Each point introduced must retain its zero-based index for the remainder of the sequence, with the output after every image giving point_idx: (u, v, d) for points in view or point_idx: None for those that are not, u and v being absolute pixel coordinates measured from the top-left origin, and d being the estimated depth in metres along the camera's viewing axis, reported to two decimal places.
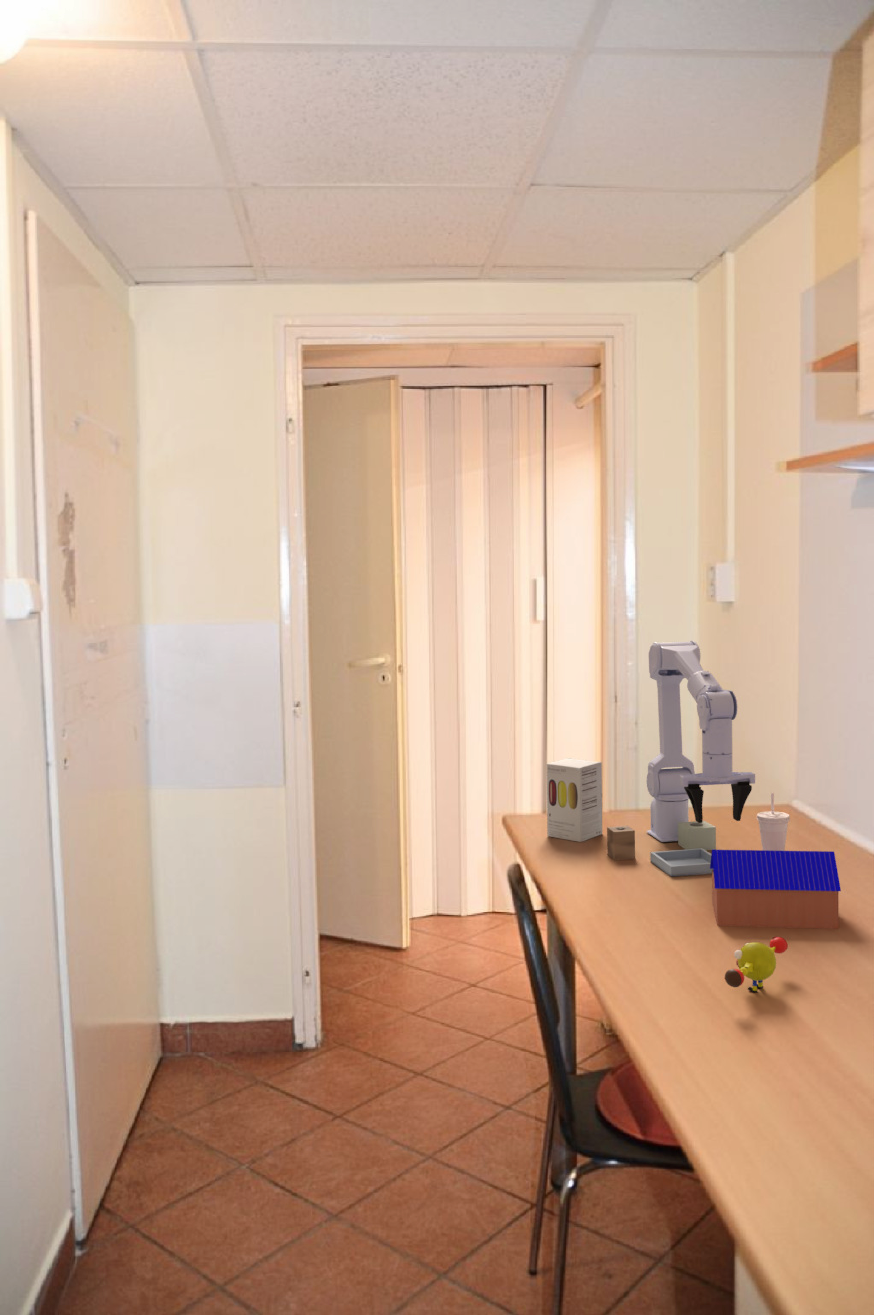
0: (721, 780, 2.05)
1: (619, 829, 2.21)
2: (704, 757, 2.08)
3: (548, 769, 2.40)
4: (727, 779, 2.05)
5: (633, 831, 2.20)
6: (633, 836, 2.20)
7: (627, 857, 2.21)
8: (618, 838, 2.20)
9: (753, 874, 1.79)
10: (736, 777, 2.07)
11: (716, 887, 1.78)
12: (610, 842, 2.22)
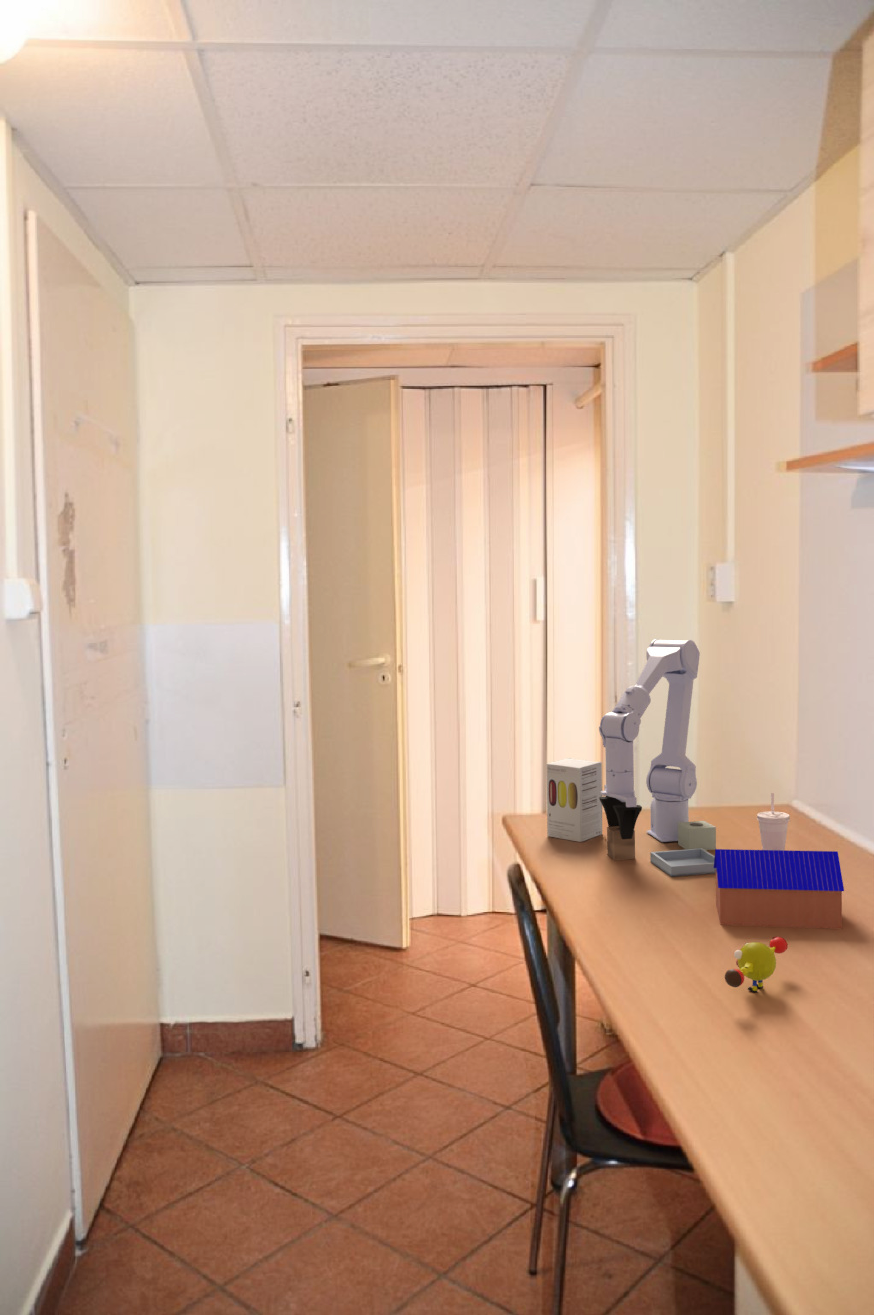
0: None
1: (619, 829, 2.21)
2: None
3: (548, 769, 2.40)
4: (602, 793, 2.20)
5: None
6: (633, 836, 2.20)
7: (627, 857, 2.21)
8: (618, 838, 2.20)
9: (756, 874, 1.79)
10: (614, 795, 2.18)
11: (719, 886, 1.78)
12: (610, 842, 2.22)
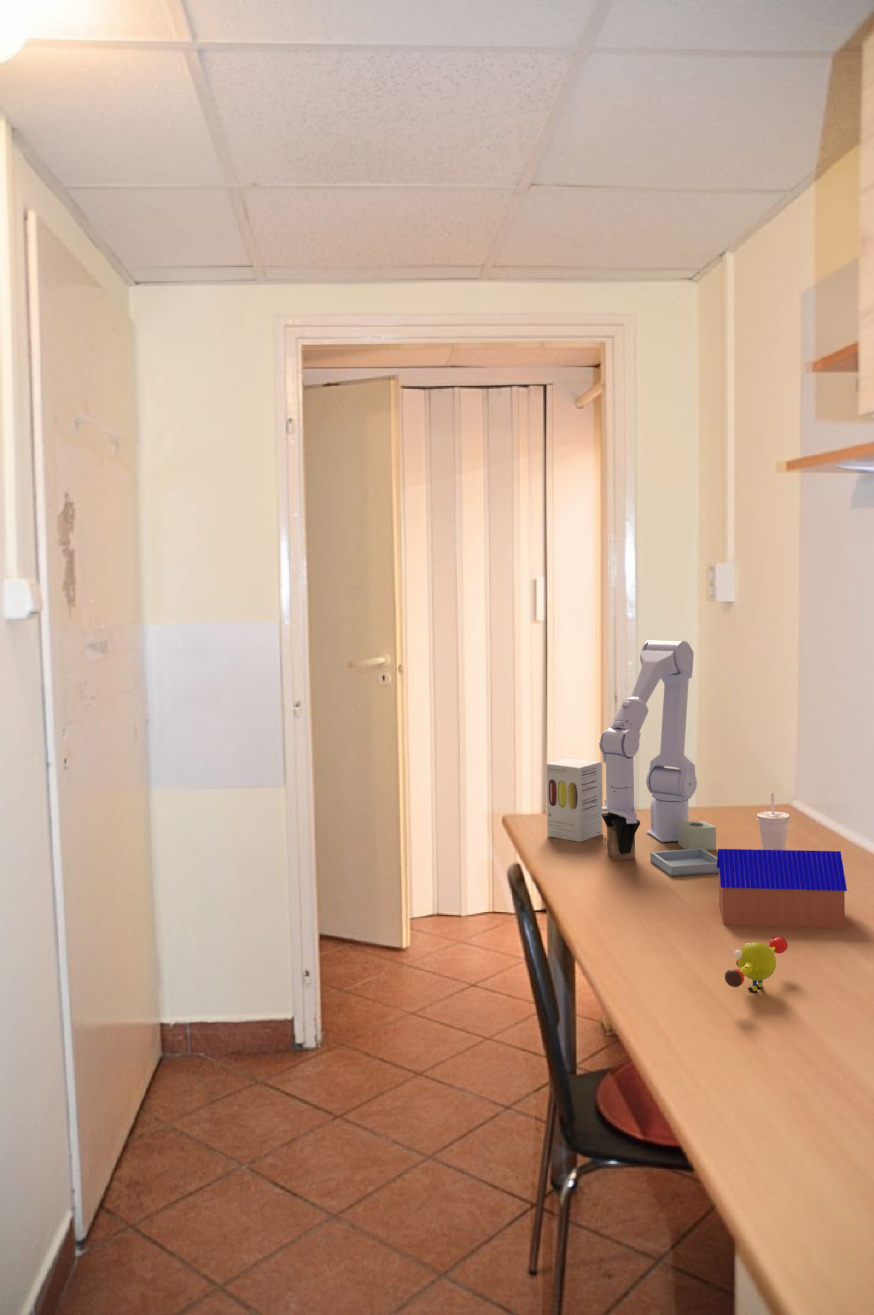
0: (601, 808, 2.22)
1: None
2: None
3: (548, 769, 2.40)
4: (602, 809, 2.21)
5: None
6: None
7: (627, 857, 2.21)
8: None
9: (759, 873, 1.79)
10: (615, 811, 2.19)
11: (722, 886, 1.78)
12: (610, 841, 2.22)
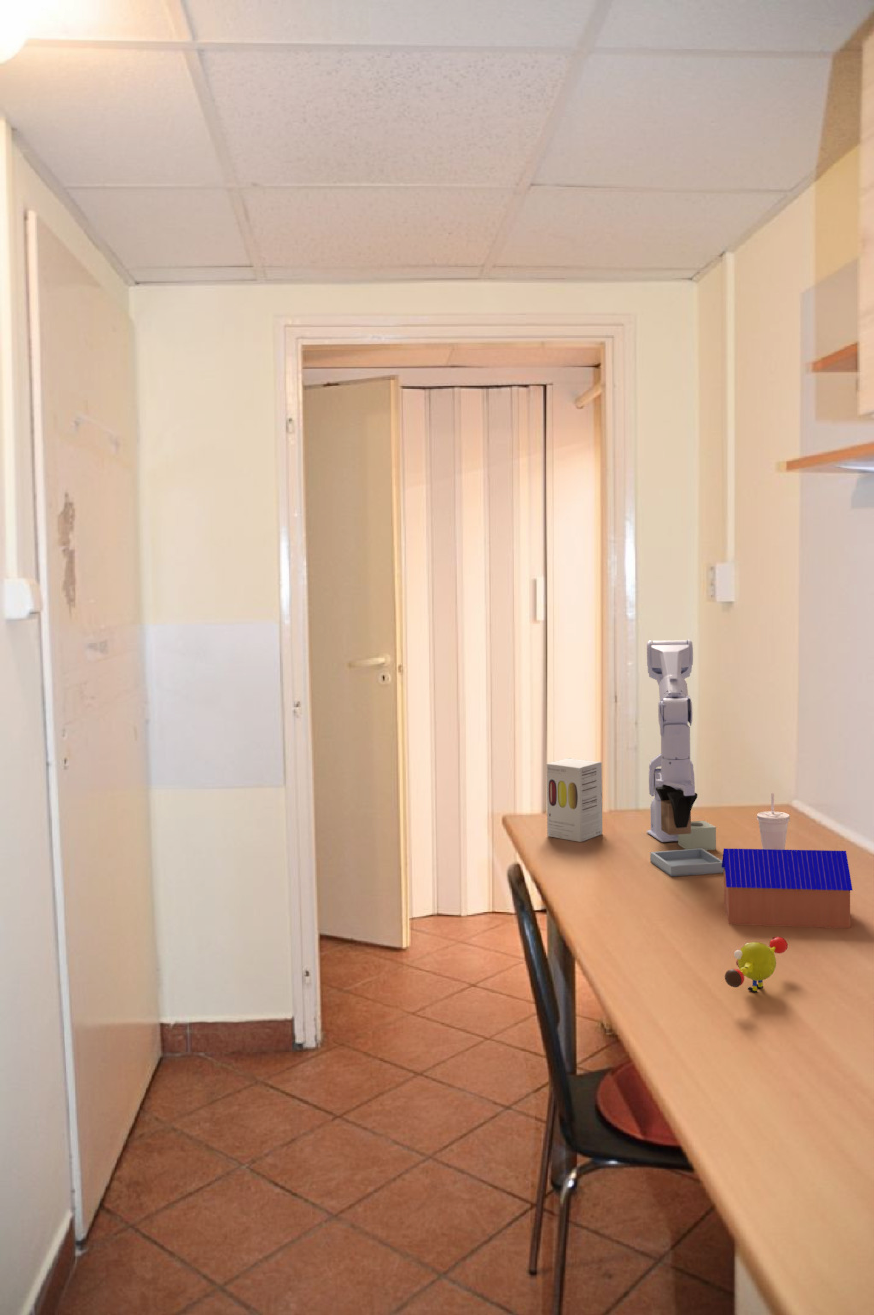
0: (656, 781, 2.13)
1: None
2: None
3: (548, 769, 2.40)
4: (658, 781, 2.12)
5: None
6: None
7: (682, 832, 2.12)
8: None
9: (764, 873, 1.79)
10: (671, 784, 2.10)
11: (727, 886, 1.78)
12: (665, 816, 2.13)
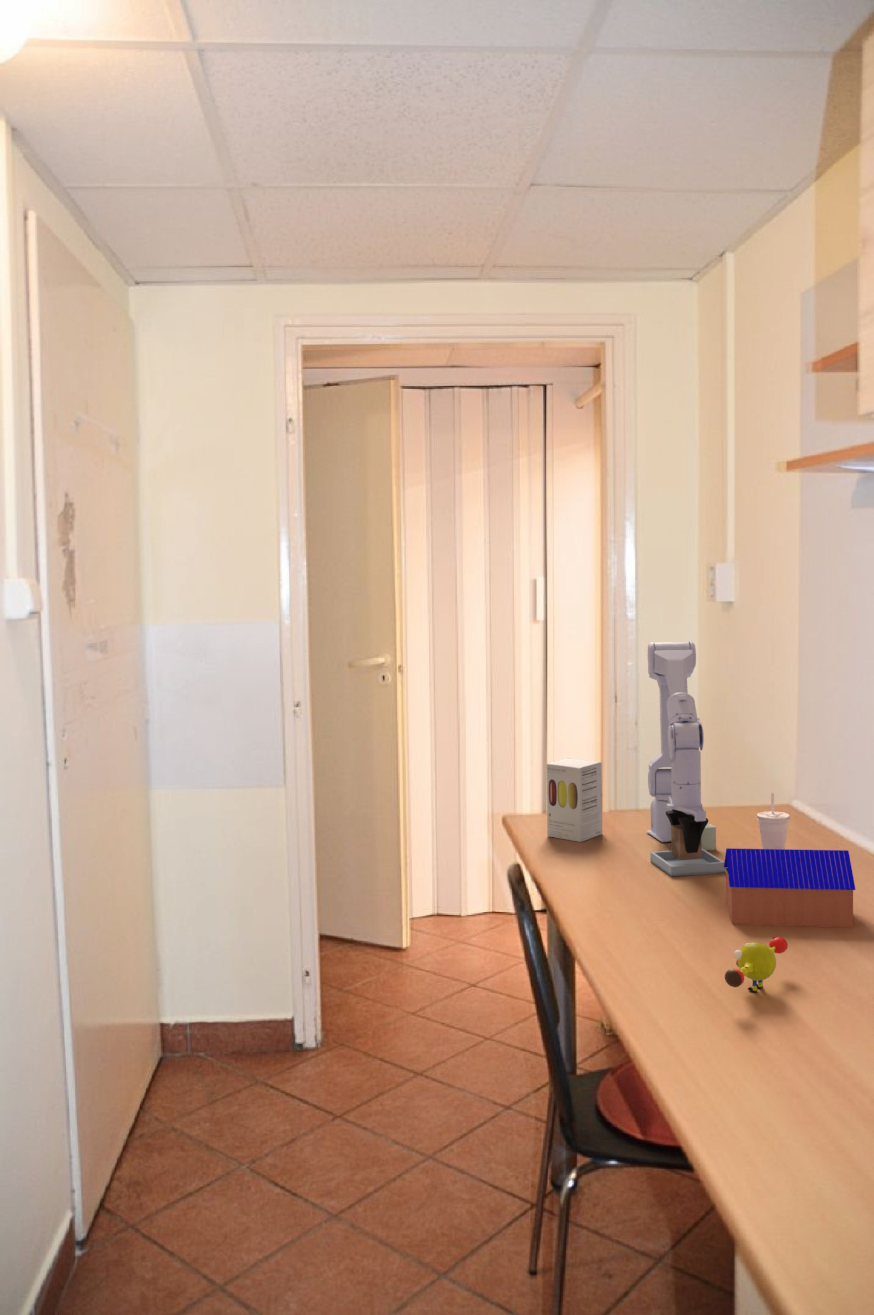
0: (666, 806, 2.12)
1: None
2: None
3: (548, 769, 2.40)
4: (668, 806, 2.11)
5: None
6: None
7: (693, 857, 2.11)
8: None
9: (767, 873, 1.79)
10: (682, 809, 2.09)
11: (731, 886, 1.78)
12: (675, 840, 2.12)
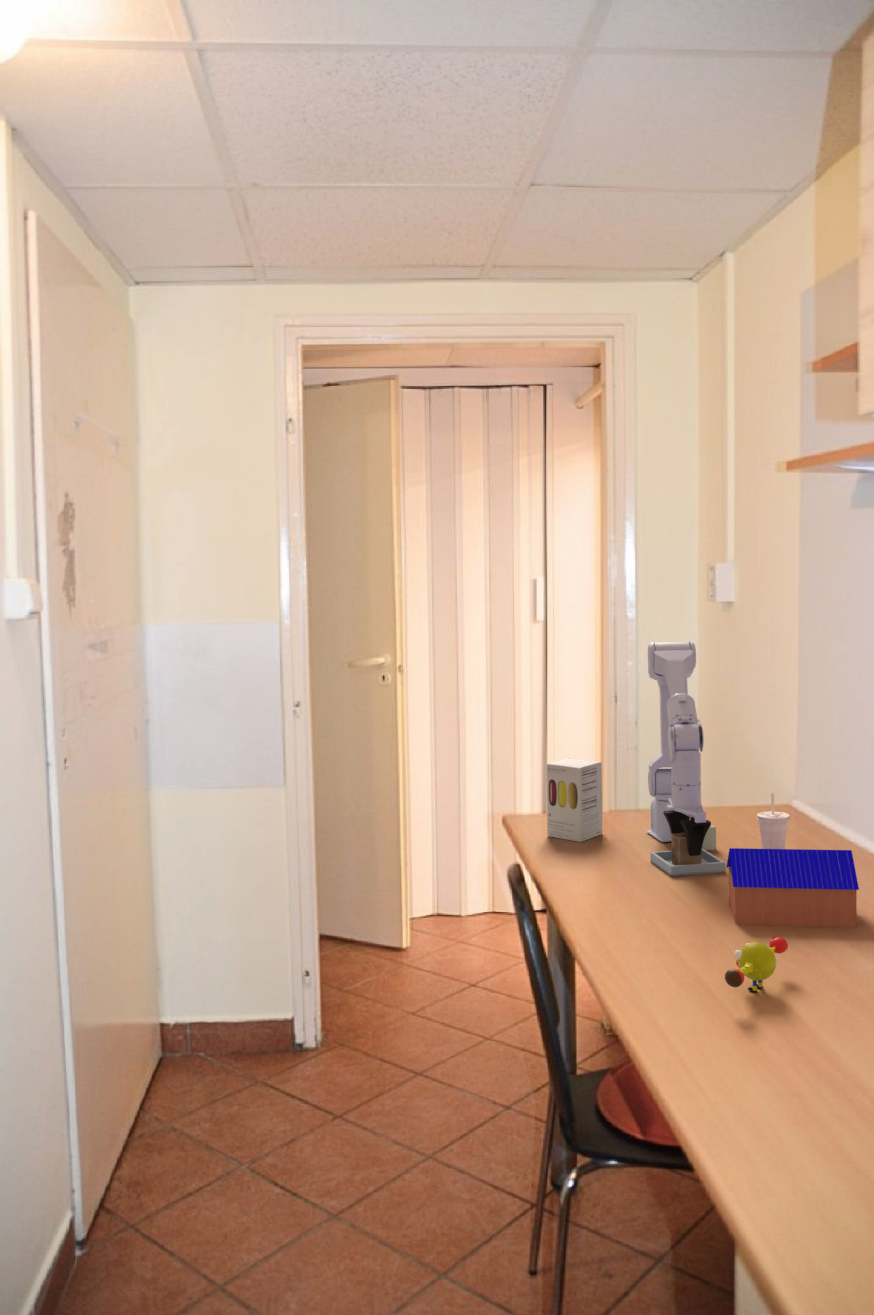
0: (666, 807, 2.12)
1: (685, 836, 2.12)
2: None
3: (548, 769, 2.40)
4: (668, 808, 2.11)
5: None
6: None
7: None
8: (684, 845, 2.11)
9: (771, 872, 1.79)
10: (682, 810, 2.09)
11: (734, 886, 1.78)
12: (676, 849, 2.13)
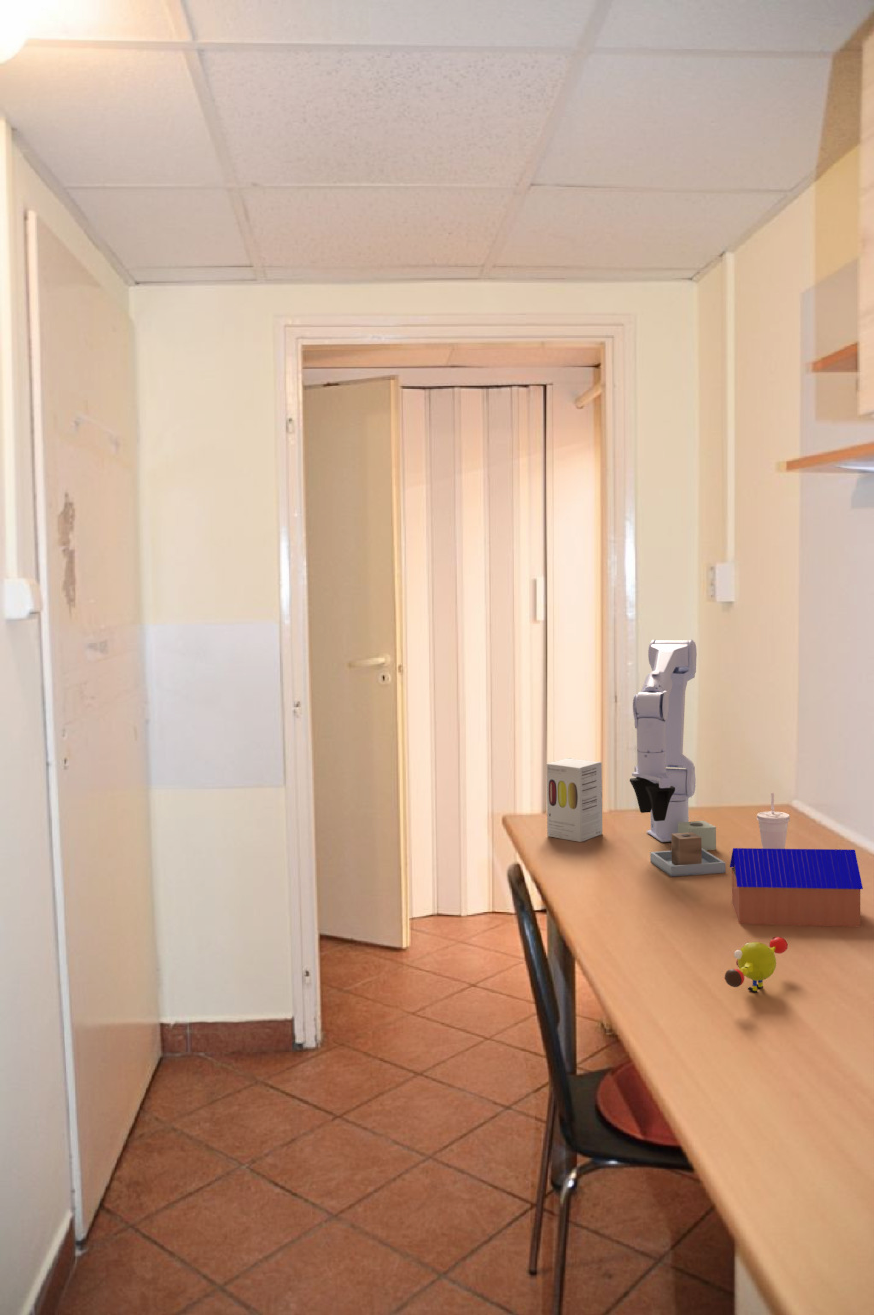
0: (632, 774, 2.17)
1: (685, 836, 2.12)
2: None
3: (548, 769, 2.40)
4: (634, 774, 2.16)
5: (700, 838, 2.11)
6: (700, 843, 2.11)
7: None
8: (684, 845, 2.11)
9: (774, 872, 1.79)
10: (647, 776, 2.14)
11: (738, 885, 1.78)
12: (676, 849, 2.13)
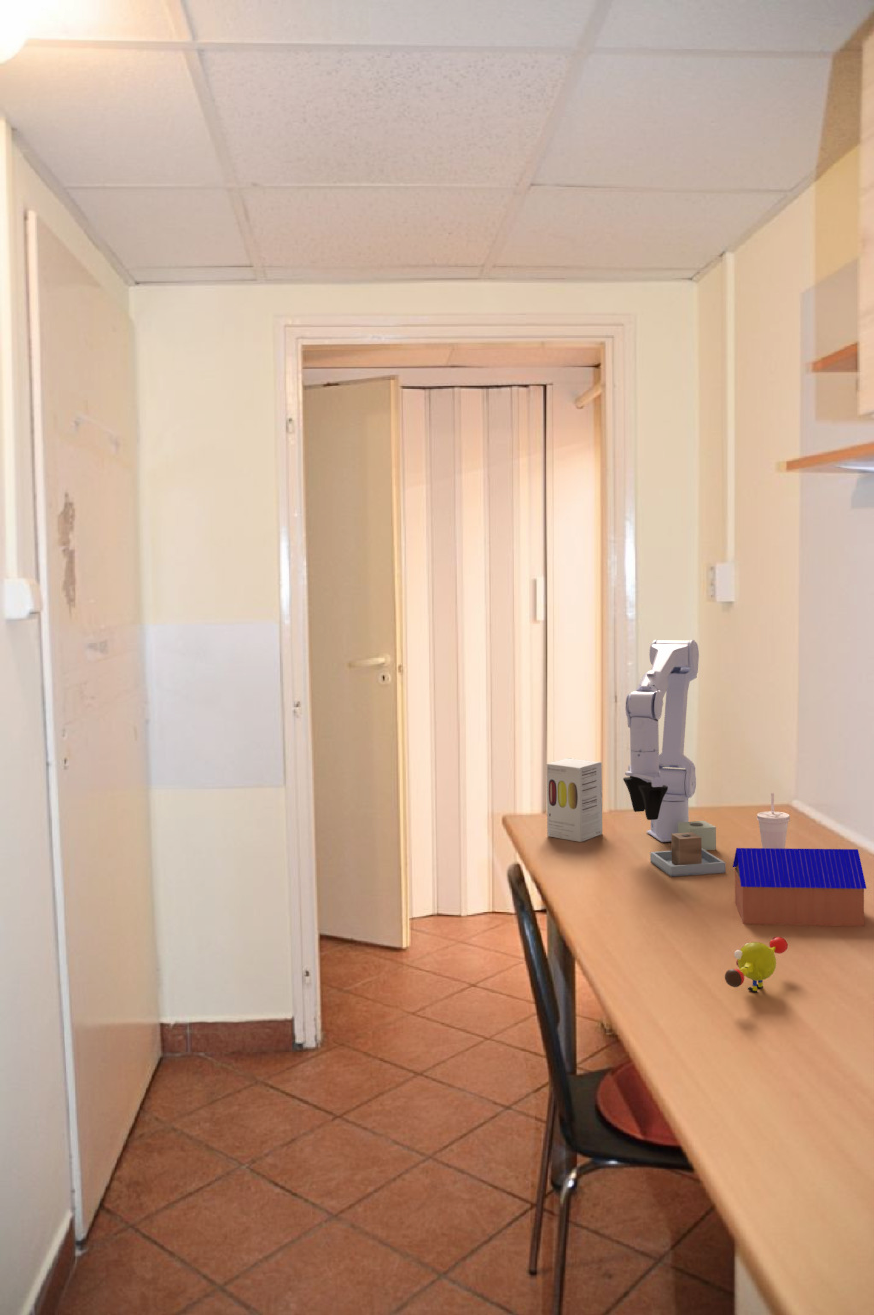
0: (625, 773, 2.18)
1: (685, 836, 2.12)
2: None
3: (548, 769, 2.40)
4: (627, 773, 2.17)
5: (700, 838, 2.11)
6: (700, 843, 2.11)
7: None
8: (684, 845, 2.11)
9: (778, 872, 1.79)
10: (640, 775, 2.15)
11: (742, 885, 1.78)
12: (676, 849, 2.13)
